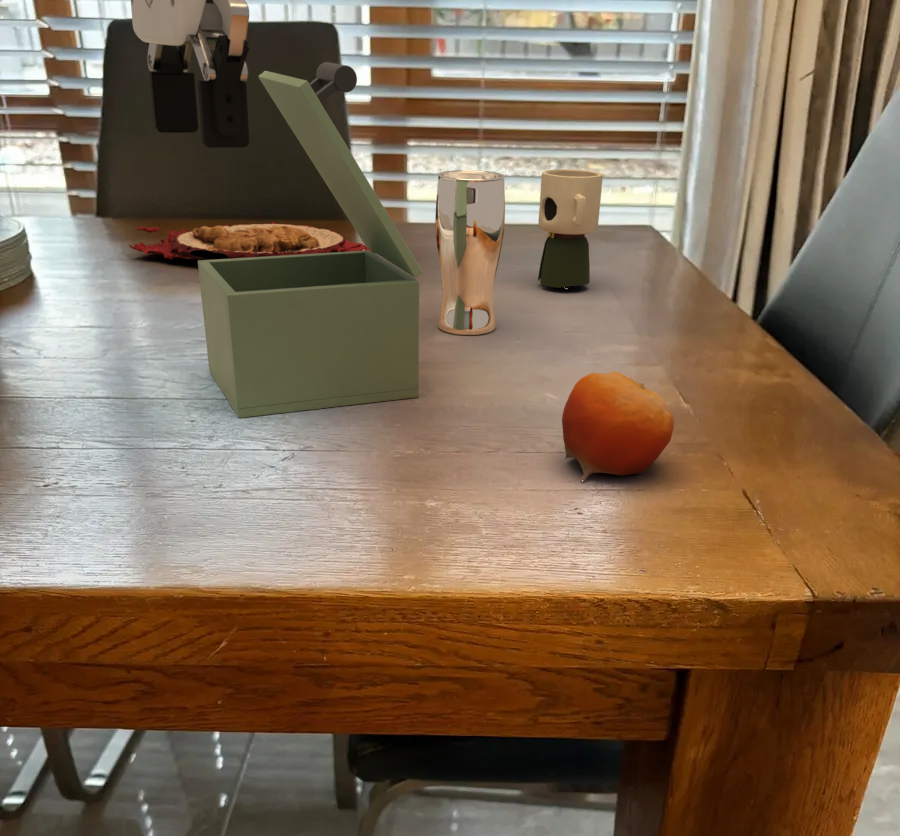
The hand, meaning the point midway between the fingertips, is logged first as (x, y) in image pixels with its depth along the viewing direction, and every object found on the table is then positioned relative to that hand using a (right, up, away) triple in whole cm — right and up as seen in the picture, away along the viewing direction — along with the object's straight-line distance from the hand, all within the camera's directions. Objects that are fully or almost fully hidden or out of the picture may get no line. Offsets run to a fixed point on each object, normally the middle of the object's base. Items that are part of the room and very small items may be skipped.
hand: (200, 139), depth 70 cm
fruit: (+30, -24, +2) cm, 38 cm away
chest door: (+9, +1, +8) cm, 12 cm away
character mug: (+32, +5, +50) cm, 59 cm away
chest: (+6, -14, +16) cm, 22 cm away
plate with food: (-7, +13, +62) cm, 64 cm away
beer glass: (+20, -5, +33) cm, 39 cm away
